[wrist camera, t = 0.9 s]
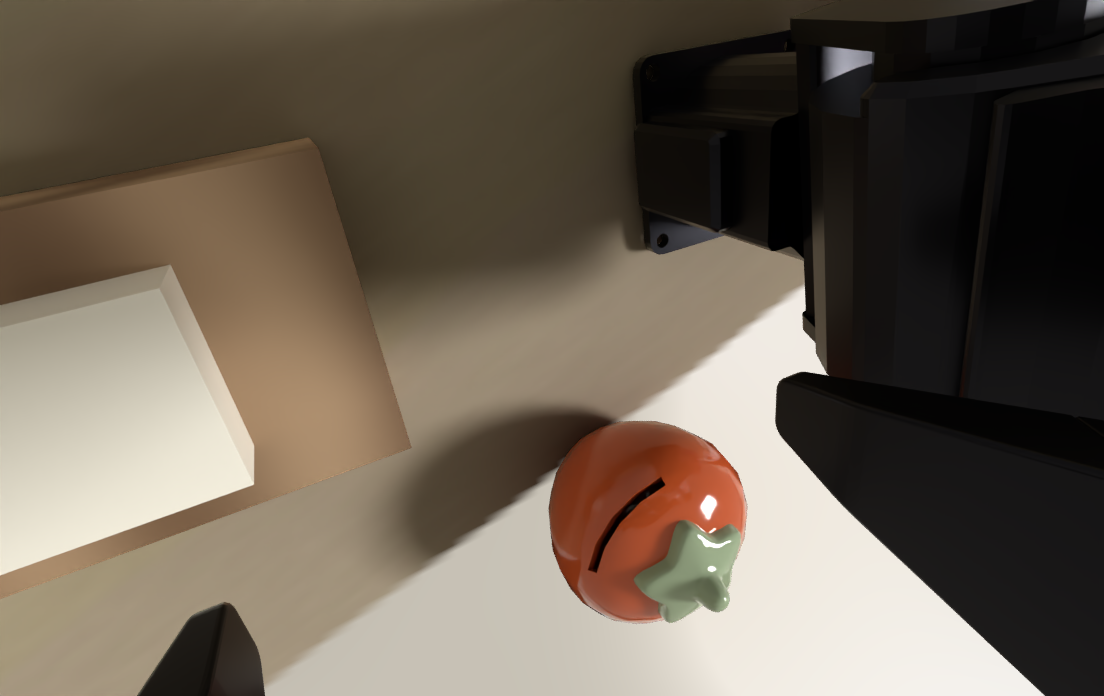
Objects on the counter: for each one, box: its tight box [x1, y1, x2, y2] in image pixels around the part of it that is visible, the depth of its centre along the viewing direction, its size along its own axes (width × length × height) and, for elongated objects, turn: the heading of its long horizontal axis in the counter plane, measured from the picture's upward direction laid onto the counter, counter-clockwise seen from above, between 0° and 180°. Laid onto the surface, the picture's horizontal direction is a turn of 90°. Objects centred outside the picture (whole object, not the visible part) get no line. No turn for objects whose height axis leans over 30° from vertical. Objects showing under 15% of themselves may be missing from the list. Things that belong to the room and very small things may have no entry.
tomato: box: [549, 421, 747, 624], centre depth 22 cm, size 7×7×8 cm
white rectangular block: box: [0, 265, 254, 575], centre depth 13 cm, size 7×5×2 cm
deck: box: [0, 138, 411, 599], centre depth 15 cm, size 11×8×3 cm
